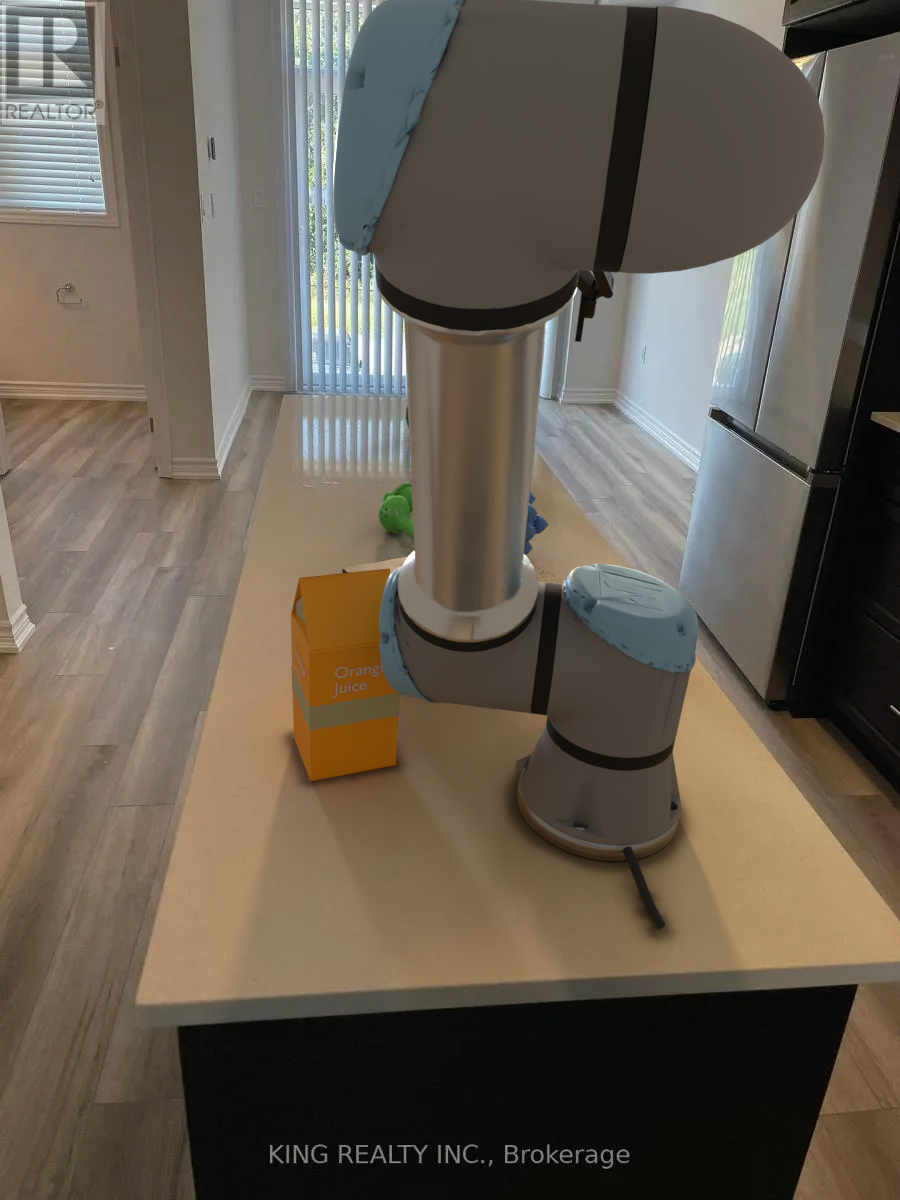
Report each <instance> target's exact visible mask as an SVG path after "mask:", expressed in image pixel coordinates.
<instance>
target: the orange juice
mask: <svg viewBox="0 0 900 1200" xmlns="http://www.w3.org/2000/svg"><path fill="white" fill-rule="evenodd" d="M390 574H391V573H390V568H388V569H378V570H369V571H359V572H350V573H343V572H342V573H331V574H322V575H312V576H302V577H298V582H297V585H296V586H297V587H296V591H295V595H294V600H293V604H292V609H291V613H290V633H291V634H290V638H291V641H290V642H291V690H292V722H293V723H292V724H293V739H294V742H295V745H296V747H297V749H298V752H299V755H300V758H301V761H302V763H303V765H304V769H305V771H306V773H307V776H308V778H309V781H310V782H314V781H319V780H325V779H330V778H334V777H335V778H336V777H340V776H345V775H351V774H357V773H361V772H366V771H372V770H377V769H383V768H389V767H393V766H394V767H395V766H396V765H397V751H398V750H397V749H398V748H397V747H398V728H399V727H398V725H399V714H400V713H399V712H400V694H399V693H397V692H396V691H395V690H393V689H392V687H391V686H390V685H389V683H388V682H387V680H386V678H385V675H384V672H383V668H382V664H381V658H380V650H379V643H380V632H379V616H380V608H381V601H382V596H383V592H384V588H385V585H386V582H387V579H388V577H389V576H390Z"/></svg>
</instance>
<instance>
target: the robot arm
mask: <svg viewBox="0 0 900 1200" xmlns="http://www.w3.org/2000/svg"><path fill="white" fill-rule="evenodd" d="M347 65H348V66H347V69H346V73H345V79H344V83H343V89H342V94H341V99H340V105H339V113H338V119H337V127H336V135H335V136H336V137H335V146H334V155H333V157H334V158H333V174H332V214H333V223H334V228H335V231H336V234H337V235H338V241H339V243H340V244H341V246H342V247H343V248H344V249H345V250H348V251H352V252H355V253H356V255H358V256H359V257H361V256H363V257H365V256H367V255H368V254H369V253H371V254H373V259H374V270H375V283H376V289H377V292H378V294H379V296H380V298H381V300H382V301H383V302H384V304H385V305H386V306H387V307H388V308H389V309H390V310H391V311H393V312H394V313H395V314H397V315H398V316H399V317H401V318H402V319H403V326H404V344H405V345H404V347H405V349H404V350H405V369H406V370H405V371H406V388H407V391H406V393H407V406H408V416H409V428H408V434H409V435H408V437H409V455H410V478H411V484H412V503H413V511H412V521H413V525H414V539H413V545H414V547H413V548H414V549H413V551H412V552H411V553H410V554H409V555H408V556H409V557H408V556H407V557H408V558H407V559H406V561H405V562H404V564H403V566H402V567H398V568H396V569H395V570H394V571H393V572H392V573H391V574H390V576H389V577H388V579H387V582H386V585H385V588H384V592H383V596H382V601H381V608H380V616H379V632H380V643H379V650H380V658H381V664H382V668H383V672H384V675H385V678H386V680H387V682H388V683H389V685H390V686H391V687H392V689H393V690H395V691H396V692H397V693H399V695H402V696H405V697H411V698H415V699H421V700H422V701H424V702H427V703H430V704H431V703H432V704H433V703H434V704H438V703H441V704H442V703H443V704H449V705H450V704H451V705H458V706H465V707H466V706H467V707H475V708H483V709H492V710H500V711H508V712H515V713H523V714H524V713H525V714H533V715H538V716H539V715H541V716H546V723H545V727H544V729H543V731H542V732H541V734H540V736H539V738H538V740H537V742H536V743H535V746H534V747H533V749H532V751H531V754H529V755H526V756H524V757H521V758H519V759H516V760H515V765H514V766H515V767H514V773H516V772H519V771H520V773H519V777H518V785H517V791H516V792H517V793H516V800H517V805H518V808H519V811H520V813H521V816H522V817H523V818H524V820H525V822H526V823H527V825H528V826H529V827H530V828H531V829H532V830H533V831H534V832H536V834H538V835H539V836H540V837H541V838H543V839H544V840H546V841H547V842H549V843H550V844H551V845H553V846H555V847H557V848H559V849H561V850H563V851H565V852H568V853H571V854H574V855H577V856H579V857H584V858H587V859H591V860H597V861H604V862H605V861H606V862H624V861H625V862H626V863H627V864H628V867H629V870H630V872H631V875H632V877H633V880H634V883H635V885H636V887H637V891H638V893H639V896H640V898H641V901H642V902H643V905H644V907H645V909H646V912H647V913H648V915H649V917H650V919H651V921H652V922H653V925H654V927H655V928H656V929H657V930H660V929H663V928H664V927H665V926H666V922H665V920H664V917H663V916H662V914H661V913H660V911H659V908H658V907H657V905H656V903H655V901H654V899H653V896H652V894H651V892H650V890H649V889H650V888H649V886H648V883H647V882H646V879H645V876H644V874H643V871H642V869H641V867H640V864H639V861H638V859H642V858H645V857H646V858H647V857H649V856H651V855H653V854H655V853H657V852H659V851H660V850H662V849H663V848H665V846H667V845H668V844H669V843H670V842H671V840H672V839H673V837H674V836H675V834H676V832H677V828H678V824H679V820H680V816H681V812H682V802H681V794H680V789H679V783H678V782H679V781H678V777H677V771H676V764H675V759H674V747H675V742H676V738H677V734H678V730H679V726H680V721H681V717H682V712H683V707H684V703H685V699H686V695H687V690H688V685H689V682H690V681H689V680H690V676H691V671H692V670H693V669H694V667H695V665H696V660H697V657H696V656H697V655H696V650H697V642H698V636H699V635H698V634H699V619H698V615H697V613H696V609H695V608H694V606H693V605H692V604H691V602H690V601H689V600H688V599H687V597H685V595H684V594H682V593H681V592H680V591H679V590H678V589H676V588H674V587H673V586H671V585H670V584H668V583H667V582H665V581H663V580H662V579H660V578H657V577H655V576H653V575H651V574H648V573H646V572H643V571H639V570H637V569H633V568H630V567H625V566H621V565H616V564H609V563H593V564H591V565H587V564H583V565H580V566H577V567H574V569H571V570H570V572H569V573H568V574H567V576H566V577H565V578H564V580H563V583H562V584H561V583H552V582H546V581H539V579H538V574H537V572H536V569H535V567H534V565H533V563H532V562H531V560H530V559H529V557H528V555H525V554H524V546H525V536H526V526H527V516H528V506H529V496H530V491H531V485H532V477H533V476H532V475H533V465H534V456H535V447H536V445H535V444H536V437H537V426H538V416H539V406H540V396H541V388H542V377H543V367H544V359H545V358H544V357H545V347H546V339H547V338H546V337H547V329H548V327H547V326H548V323H549V321H552V320H553V319H554V318H556V317H557V316H559V315H560V314H561V313H562V312H564V311H565V310H566V308H567V307H569V305H570V304H571V303H572V301H573V300H574V298H575V296H576V293H577V290H579V292H580V300H579V305H578V314H577V321H576V327H575V337H574V342H576V343H577V342H578V343H581V342H582V337H583V336H582V335H583V332H584V331H583V330H584V324H585V319H593V318H594V317H595V313H596V307H597V303H598V299H600V298H601V297H604V298H605V299H611V298H613V296H614V288H615V277H614V275H613V273H614V274H615V273H622V274H648V275H649V274H650V275H651V274H661V273H672V272H673V273H674V272H682V271H686V270H692V269H696V268H697V269H698V268H701V267H707V266H710V265H712V264H715V263H718V262H722V261H726V260H728V259H732V258H735V257H737V256H740V255H742V254H745V253H747V252H749V251H751V250H752V249H755V248H757V247H758V246H761V245H762V244H764V243H766V242H767V241H769V240H770V239H771V238H773V237H774V236H775V235H777V234H778V233H779V232H780V231H781V230H783V229H784V228H785V227H786V226H787V225H788V224H789V223H790V222H791V221H792V220H793V218H794V217H796V216H797V215H798V213H799V212H800V210H801V208H802V207H803V206H804V204H805V203H806V201H807V200H808V198H809V197H810V194H811V192H812V190H813V188H814V187H815V184H816V182H817V181H818V177H819V174H820V170H821V167H822V163H823V159H824V152H825V138H826V133H825V124H824V123H825V122H824V115H823V112H822V109H821V105H820V101H819V98H818V96H817V94H816V92H815V91H814V88H813V87H812V86H811V83H810V82H809V81H808V79H807V77H806V76H805V74H804V73H803V71H802V70H801V68H800V67H798V65H797V64H796V63H795V62H794V61H793V60H792V59H791V58H790V57H789V56H788V55H786V54H785V53H784V52H783V51H782V50H781V49H780V48H778V47H777V46H776V45H775V44H773V43H771V42H769V40H767V39H765V38H764V37H763V36H762V35H760V34H759V33H756V32H754V31H753V30H751V29H749V28H747V27H745V26H743V25H741V24H738V23H736V22H734V21H732V20H728V19H726V18H723V17H720V16H718V15H716V14H713V13H708V12H703V11H699V10H694V9H689V8H685V7H677V6H659V5H658V6H655V7H651V6H650V7H649V6H648V7H646V6H644V7H643V6H629V5H614V4H613V5H612V4H611V5H610V4H595V3H579V2H578V3H577V2H576V3H575V2H574V3H573V2H562V1H547V0H384V1H382V2H381V3H379V4H378V5H377V6H376V7H374V9H373V10H371V12H370V13H369V14H368V15H367V16H366V18H365V19H364V22H363V23H362V25H361V26H360V29H359V31H358V34H357V36H356V39H355V41H354V44H353V48H352V50H351V55H350V58H349V61H348V64H347Z"/></svg>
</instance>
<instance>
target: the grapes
mask: <svg viewBox="0 0 900 1200" xmlns="http://www.w3.org/2000/svg"><path fill="white" fill-rule="evenodd" d="M536 499H537V498H536V496H535V494H534V493H533V492H532V491H531V490H530V496H529V506H528V516H527V526H526V536H525V546H524V554H525V555H526V556H528V555H529V553H530V552H531V551H532V549H533V546H532V544H531V543H530V541H531V540H532V539H533V538H534V537H535V535H539V534H541V533H543V532H544V531H545V530H546V529H547V528H548V526H549V522H548V521H547V520H546V519H545V517H543V516H542V515H541V514H538V511H537V510H536V508H535V506H533V503H534V502H535V501H536Z"/></svg>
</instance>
